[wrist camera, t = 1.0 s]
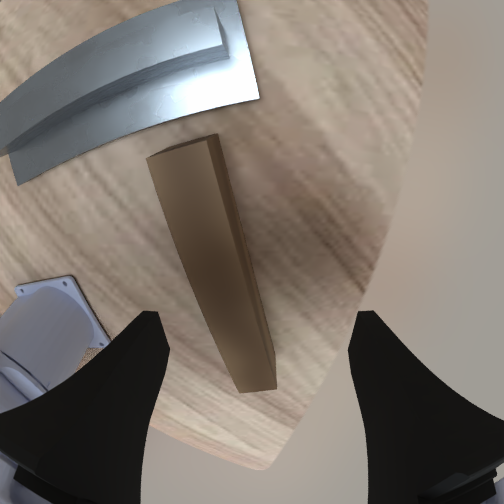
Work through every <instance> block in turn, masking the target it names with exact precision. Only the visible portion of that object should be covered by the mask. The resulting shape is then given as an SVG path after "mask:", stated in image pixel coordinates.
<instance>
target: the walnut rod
mask: <svg viewBox="0 0 504 504" xmlns="http://www.w3.org/2000/svg"><path fill="white" fill-rule="evenodd" d="M146 160H147V164H148V167H149V170H150V173H151V176H152V179H153V183H154V186H155V189H156V192H157V195H158V198H159V201H160V204H161V207H162V209H163V212H164V215H165V218H166V221H167V224H168V227H169V229H170V232H171V235H172V238H173V240H174V243H175V246H176V248H177V251H178V254H179V256H180V259H181V262H182V264H183V267H184V269H185V272H186V274H187V277H188V279H189V282H190V284H191V287H192V289H193V292H194V294H195V297H196V299H197V301H198V304H199V306H200V309H201V311H202V313H203V316H204V318H205V320H206V323H207V325H208V327H209V330H210V332H211V334H212V336H213V339H214V341H215V343H216V345H217V347H218V350H219V352H220V354H221V356H222V358H223V360H224V363H225V365H226V367H227V369H228V371H229V373H230V375H231V377H232V379H233V382H234V384H235V386H236V388H237V390H238V392H239V393H248V392H258V391H266V390H275V389H277V379H276V359H275V352H274V348H273V344H272V340H271V337H270V333H269V329H268V325H267V321H266V318H265V314H264V310H263V306H262V302H261V299H260V295H259V291H258V287H257V283H256V280H255V276H254V272H253V268H252V264H251V261H250V257H249V253H248V249H247V245H246V241H245V238H244V234H243V230H242V226H241V222H240V218H239V215H238V211H237V207H236V203H235V199H234V195H233V192H232V188H231V184H230V180H229V176H228V172H227V168H226V164H225V161H224V157H223V153H222V149H221V145H220V141H219V137H218V133H217V134H213V135H209V136H206V137H202V138H198V139H195V140H191V141H188V142H184V143H181V144H177V145H174V146H171V147H168V148H166V149H164V150H162V151H160V152H158V153H156V154H154V155H152V156H150V157H148V158H146Z"/></svg>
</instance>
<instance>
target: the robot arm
mask: <svg viewBox="0 0 504 504" xmlns="http://www.w3.org/2000/svg"><path fill="white" fill-rule="evenodd" d="M15 292H16V294H17V296H18V297H17V299H16V300H15V301H14V302H13V303H12V304H11V305H10V307H9V308H8V309H7V310H6V311H5V312H4V314H3V315H2V316H1V317H0V504H140V501H141V499H140V498H141V497H140V496H141V475H142V463H143V456H144V448H145V442H146V436H147V431H148V426H149V422H150V419H151V415H152V412H153V409H154V406H155V403H156V400H157V397H158V394H159V391H160V388H161V385H162V382H163V379H164V375H165V372H166V368H167V363H168V357H169V352H170V347H169V344H168V342H167V339H166V336H165V333H164V329H163V326H162V323H161V320H160V317H159V314H158V312H155V311H143V312H141V313H140V314H139V315H138V316H137V317H136V318H135V319H134V320H133V321H132V322H131V323H130V324H129V325H128V326H127V327H126V328H125V329H124V330H123V331H122V332H121V333H120V334H119V335H118V336H116V337H115V338H114V339H113V340H112V341H110V340H109V338H108V337H107V335H106V334H105V332H104V330H103V329H102V327H101V326H100V324H99V322H98V321H97V319H96V317H95V316H94V314H93V312H92V311H91V309H90V307H89V305H88V304H87V302H86V300H85V298H84V297H83V295H82V293H81V291H80V289H79V287H78V285H77V284H76V282H75V280H74V278H73V277H71V276H65V277H60V278H54V279H49V280H44V281H38V282H33V283H28V284H23V285H18V286H16V287H15ZM87 348H104V349H103V350H102V351H101V352H99V353H98V354H97V355H96V356H95V357H94V358H93V359H92V360H90V361H89V362H88V363H87V364H86V365H85V366H83V367H82V368H81V369H80V370H78V371H77V372H76V373H75V371H76V369H77V367H78V365H79V363H80V361H81V360H82V358H83V356H84V354H85V352H86V350H87ZM348 354H349V362H350V369H351V375H352V379H353V383H354V387H355V390H356V394H357V398H358V402H359V406H360V410H361V414H362V418H363V423H364V428H365V434H366V443H367V456H368V504H504V478H502V479H500V480H499V481H498V482H495V483H494V481H493V478H494V477H496V476H497V472H496V467H498V466H499V465H501V464H502V463H504V420H501V419H499V418H497V417H495V416H493V415H491V414H489V413H488V412H486V411H484V410H482V409H481V408H479V407H477V406H476V405H474V404H472V403H471V402H469V401H468V400H466V399H465V398H464V397H462V396H461V395H459V394H458V393H456V392H455V391H454V390H452V389H451V388H450V387H449V386H447V385H446V384H445V383H444V382H443V381H441V380H440V379H439V378H438V377H437V376H436V375H434V374H433V373H432V372H431V371H430V370H429V369H428V368H427V367H426V366H425V365H424V364H423V363H421V361H420V360H419V359H417V357H416V356H415V355H414V354H413V353H412V352H411V351H410V350H409V349H408V348H407V347H406V346H405V345H404V344H403V343H402V342H401V341H400V339H398V337H397V336H396V335H395V334H394V333H393V332H392V330H391V329H390V328H389V327H388V326H387V325H386V324H385V323H384V322H383V320H382V319H381V318H380V317H379V316H378V315H377V314H376V313H375V312H374V311H373V310H372V311H358V313H357V317H356V321H355V325H354V329H353V333H352V337H351V340H350V344H349V347H348Z"/></svg>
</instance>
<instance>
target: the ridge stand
mask: <svg viewBox="0 0 504 504" xmlns="http://www.w3.org/2000/svg"><path fill="white" fill-rule="evenodd" d="M258 99H259V94H258V89H257V84H256V80H255V75H254V71H253V67H252V62H251V58H250V54H249V49H248V45H247V41H246V37H245V33H244V29H243V25H242V20H241V17H240V13H239V9H238V5H237V1H236V0H180V1H177V2H174V3H171V4H168V5H165V6H162V7H159V8H156V9H154V10H151V11H148V12H146V13H143V14H141V15H138V16H136V17H134V18H131V19H129V20H127V21H124V22H122V23H120V24H118V25H116V26H114V27H111V28H109V29H107V30H105V31H103V32H101V33H99V34H98V35H96V36H94V37H92V38H90V39H88V40H87V41H85V42H83V43H81V44H79V45H78V46H76V47H74V48H73V49H71V50H69V51H68V52H66V53H65V54H63V55H61V56H60V57H58V58H57V59H55V60H54V61H52V62H51V63H49V64H48V65H47V66H45V67H44V68H42V69H41V70H40V71H38V72H37V73H35V74H34V75H33V76H31V77H30V78H29V79H28V80H26V81H25V82H24V83H22V84H21V85H20V86H19V87H18V88H16V89H15V90H14V91H13V92H12V93H10V94H9V95H8V96H7V97H6V98H5V99H3V100H2V101H1V102H0V157H2V156H4V155H7V154H9V158H10V162H11V165H12V169H13V172H14V176H15V179H16V182H17V185H18V186H19V185H21V184H23V183H25V182H27V181H29V180H31V179H32V178H34V177H36V176H38V175H40V174H42V173H44V172H45V171H47V170H49V169H51V168H53V167H55V166H57V165H59V164H61V163H63V162H65V161H67V160H69V159H72V158H74V157H76V156H78V155H80V154H82V153H85V152H87V151H89V150H91V149H94V148H96V147H98V146H101V145H103V144H106V143H108V142H111V141H113V140H116V139H118V138H121V137H124V136H126V135H129V134H132V133H134V132H137V131H140V130H143V129H146V128H149V127H152V126H155V125H158V124H161V123H164V122H167V121H171V120H174V119H177V118H181V117H184V116H188V115H192V114H195V113H199V112H203V111H207V110H211V109H215V108H219V107H224V106H228V105H233V104H237V103H242V102H247V101H253V100H258Z"/></svg>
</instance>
